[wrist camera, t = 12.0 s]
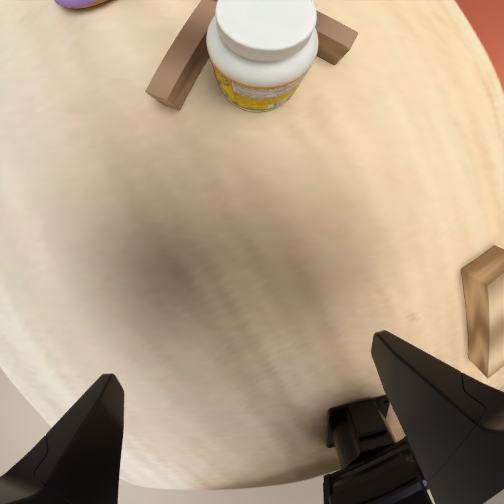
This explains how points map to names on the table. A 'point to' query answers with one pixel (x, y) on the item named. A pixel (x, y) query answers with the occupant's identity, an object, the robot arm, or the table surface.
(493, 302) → the beam
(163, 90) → the v block
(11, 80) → the table surface
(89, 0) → the donut
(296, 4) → the supplement bottle
